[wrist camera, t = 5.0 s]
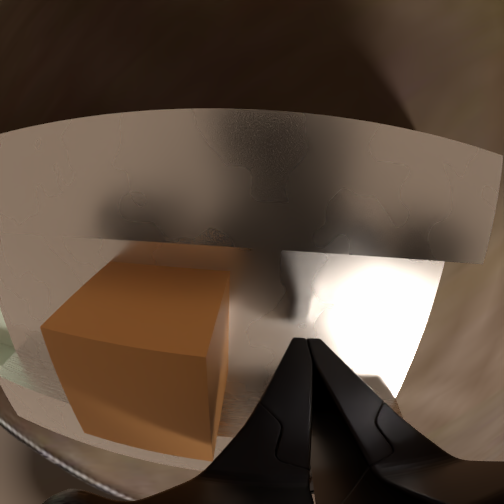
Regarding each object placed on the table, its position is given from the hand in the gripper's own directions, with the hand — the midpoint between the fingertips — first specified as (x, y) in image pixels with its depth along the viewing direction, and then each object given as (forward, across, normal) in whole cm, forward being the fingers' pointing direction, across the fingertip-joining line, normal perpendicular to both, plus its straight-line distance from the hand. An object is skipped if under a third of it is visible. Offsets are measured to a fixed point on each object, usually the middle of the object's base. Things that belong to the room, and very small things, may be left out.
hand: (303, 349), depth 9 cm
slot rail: (+4, +4, 0) cm, 6 cm away
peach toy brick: (+1, +4, 0) cm, 5 cm away
